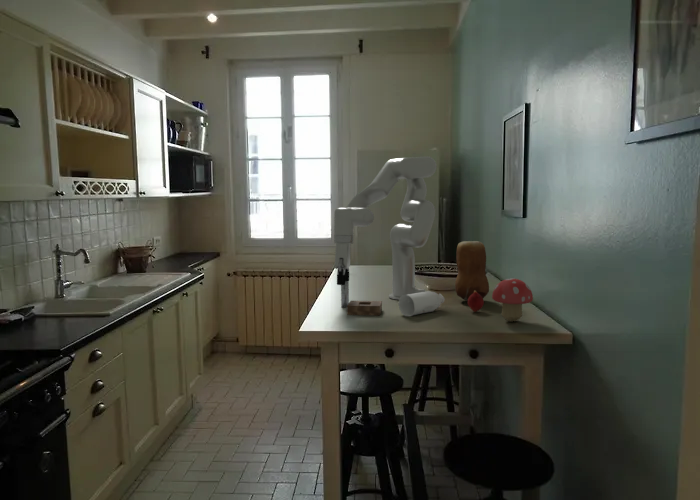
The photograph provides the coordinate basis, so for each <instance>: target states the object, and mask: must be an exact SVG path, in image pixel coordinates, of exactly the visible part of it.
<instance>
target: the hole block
mask: <svg viewBox="0 0 700 500" xmlns="http://www.w3.org/2000/svg"><path fill="white" fill-rule="evenodd" d="M346 309H347V310H346V314H347V316H348V315H349V316H376V317H377V316H381V313H382V312H383V311H382V310H383V301H382V300H349V304H348V305H347V308H346Z"/></svg>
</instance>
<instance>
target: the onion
mask: <svg viewBox="0 0 700 500" xmlns="http://www.w3.org/2000/svg"><path fill="white" fill-rule="evenodd" d="M484 303H485V301H484V298H482V296H481V295H480V294H478V293H477V292H476V291H474V293H473V294H472V295H470V297H469V298H468V301H467V305H468V307H469V308H470V309H471V311H472V312H474V313H476V312H478V311H480V310H482V308H483V307H484Z"/></svg>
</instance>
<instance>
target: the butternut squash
mask: <svg viewBox="0 0 700 500" xmlns="http://www.w3.org/2000/svg"><path fill="white" fill-rule="evenodd" d="M486 265H487V252H486V247H485V245H484V243H483V242H481V241H478V240H473V241H472V240H468V241H466V240H463V241H461V242H459V243H458V244H457V247H456V267H457V276H456V278H455V282H454V289H455V292H456V296H458V297H460V298H461V299H462V300H464V301H466V302H468V298H469V297H470V295H472V294H473V293H474V291H476V292H477V293H478V294H480V295H481V296H482V298H483V299H484V298H485V297H486V296H487V295H488V294H489V291H490V284H489V279H488V277H487V274H486V269H487V266H486Z"/></svg>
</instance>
